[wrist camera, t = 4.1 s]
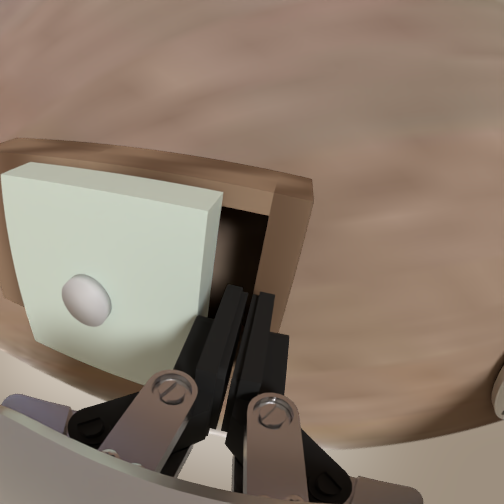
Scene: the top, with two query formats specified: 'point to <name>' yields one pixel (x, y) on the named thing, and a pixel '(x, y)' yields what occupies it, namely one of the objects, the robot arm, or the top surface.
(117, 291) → the sliding lid
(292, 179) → the socket board
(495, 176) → the top surface
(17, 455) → the robot arm
